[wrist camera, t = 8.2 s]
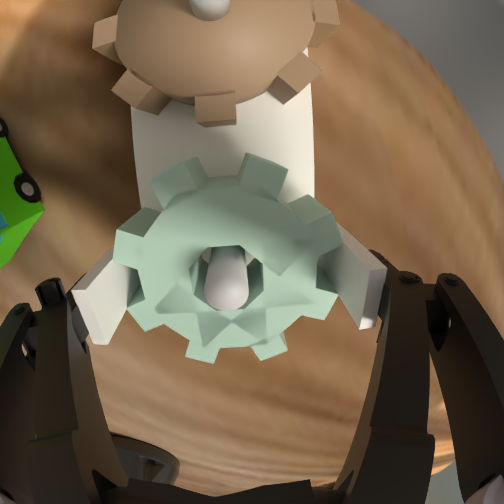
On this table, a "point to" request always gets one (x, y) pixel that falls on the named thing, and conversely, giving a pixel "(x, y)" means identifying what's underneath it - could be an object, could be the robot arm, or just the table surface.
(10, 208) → the toy car
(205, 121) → the gear board
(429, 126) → the table surface
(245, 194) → the loose gear
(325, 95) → the table surface
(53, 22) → the table surface
